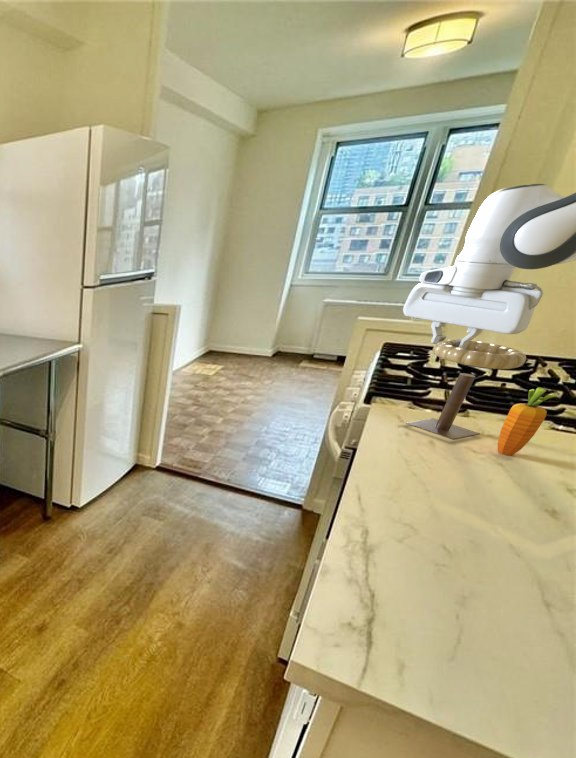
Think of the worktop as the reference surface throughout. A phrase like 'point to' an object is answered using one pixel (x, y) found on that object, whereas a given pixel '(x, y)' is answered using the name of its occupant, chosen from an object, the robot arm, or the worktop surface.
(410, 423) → the brown peg stand
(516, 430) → the carrot
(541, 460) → the worktop surface
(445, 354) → the bracelet
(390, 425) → the worktop surface
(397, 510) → the worktop surface
